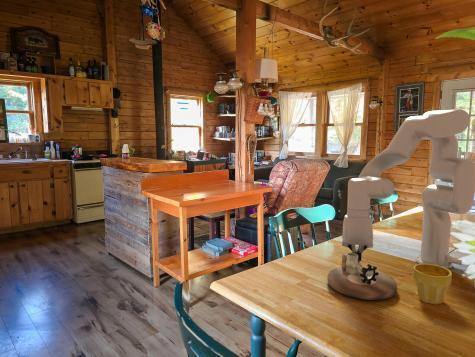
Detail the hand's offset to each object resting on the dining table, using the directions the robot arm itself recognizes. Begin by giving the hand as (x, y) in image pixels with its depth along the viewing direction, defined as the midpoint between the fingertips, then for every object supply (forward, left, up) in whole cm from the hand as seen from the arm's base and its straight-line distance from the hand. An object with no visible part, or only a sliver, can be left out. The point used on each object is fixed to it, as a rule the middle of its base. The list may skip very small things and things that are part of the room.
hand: (356, 262), depth 121 cm
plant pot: (-24, +4, -5) cm, 25 cm away
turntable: (-4, +8, -4) cm, 10 cm away
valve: (-3, +7, -3) cm, 8 cm away
